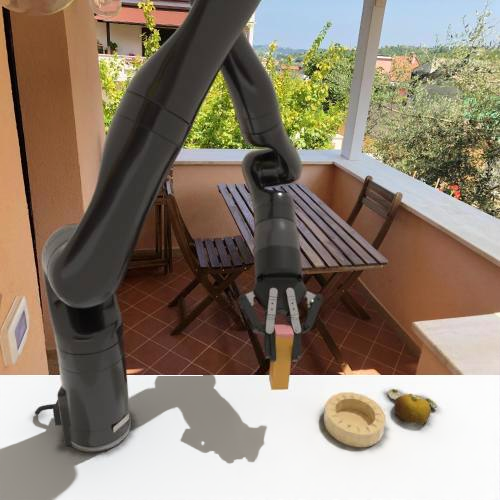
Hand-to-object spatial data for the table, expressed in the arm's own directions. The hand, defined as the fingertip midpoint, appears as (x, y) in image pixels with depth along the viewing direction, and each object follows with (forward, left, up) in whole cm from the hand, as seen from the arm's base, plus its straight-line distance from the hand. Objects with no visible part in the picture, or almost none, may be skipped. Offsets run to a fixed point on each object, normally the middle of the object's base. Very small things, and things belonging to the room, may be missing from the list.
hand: (283, 360), depth 62 cm
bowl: (+13, +2, -14) cm, 20 cm away
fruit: (+25, +5, -15) cm, 30 cm away
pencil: (0, +2, -6) cm, 6 cm away
